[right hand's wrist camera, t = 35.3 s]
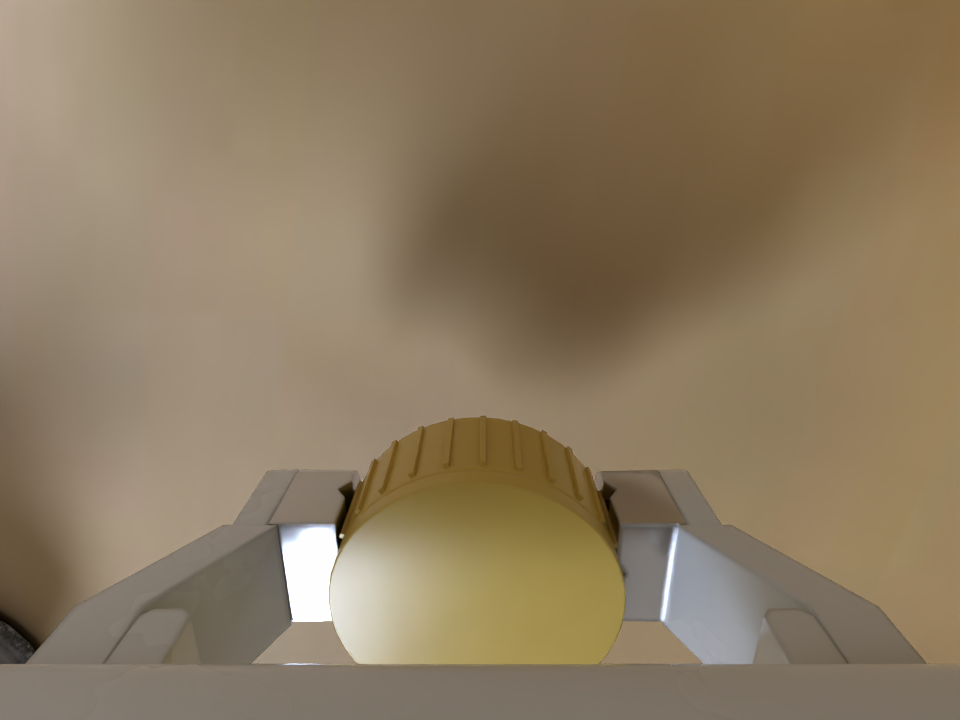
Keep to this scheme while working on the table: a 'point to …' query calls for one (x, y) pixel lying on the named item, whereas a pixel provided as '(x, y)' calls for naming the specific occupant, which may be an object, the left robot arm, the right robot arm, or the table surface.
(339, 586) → the cap
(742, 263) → the table surface
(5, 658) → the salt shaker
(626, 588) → the right robot arm
